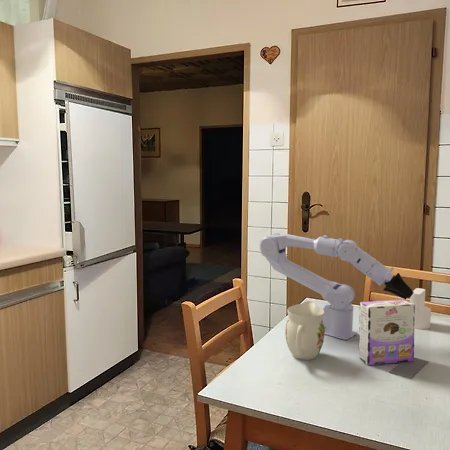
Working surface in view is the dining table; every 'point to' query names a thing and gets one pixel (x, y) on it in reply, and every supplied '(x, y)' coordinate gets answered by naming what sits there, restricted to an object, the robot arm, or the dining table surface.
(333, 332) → the robot arm
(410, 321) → the candy box
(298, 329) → the pitcher
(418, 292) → the base with upright slab
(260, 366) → the dining table surface
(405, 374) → the mat
